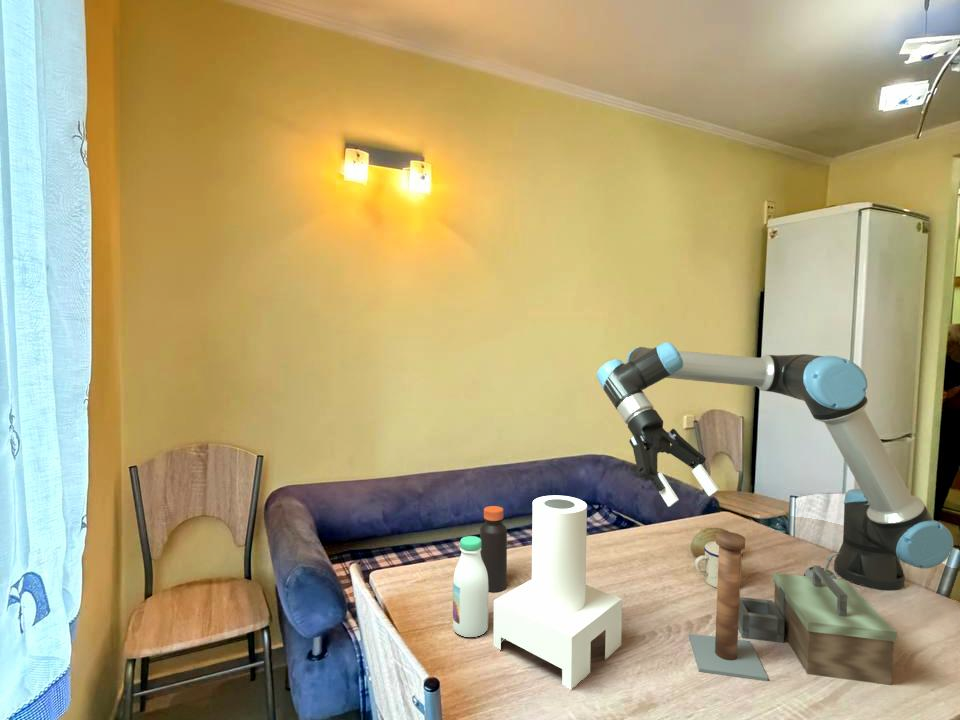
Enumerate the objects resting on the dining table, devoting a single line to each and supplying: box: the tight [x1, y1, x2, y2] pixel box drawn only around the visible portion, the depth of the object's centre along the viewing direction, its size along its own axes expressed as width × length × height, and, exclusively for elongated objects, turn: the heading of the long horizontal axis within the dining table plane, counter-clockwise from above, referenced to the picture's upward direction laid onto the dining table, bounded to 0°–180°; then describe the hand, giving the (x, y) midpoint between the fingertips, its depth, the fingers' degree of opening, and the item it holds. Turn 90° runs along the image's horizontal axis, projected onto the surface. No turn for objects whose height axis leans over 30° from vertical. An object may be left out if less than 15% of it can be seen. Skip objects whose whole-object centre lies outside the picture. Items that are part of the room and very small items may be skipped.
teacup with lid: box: [694, 541, 744, 589], centre depth 136 cm, size 12×9×12 cm
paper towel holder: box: [493, 494, 623, 691], centre depth 108 cm, size 19×19×30 cm
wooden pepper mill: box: [715, 531, 746, 660], centre depth 105 cm, size 5×5×24 cm
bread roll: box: [690, 527, 730, 558], centre depth 153 cm, size 10×15×8 cm, turn 100°
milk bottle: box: [452, 535, 489, 638], centre depth 115 cm, size 8×8×20 cm
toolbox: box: [738, 564, 898, 686], centre depth 109 cm, size 23×21×14 cm
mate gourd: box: [803, 552, 840, 579], centre depth 126 cm, size 8×8×15 cm
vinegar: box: [479, 505, 508, 593], centre depth 134 cm, size 7×7×20 cm
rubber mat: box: [688, 633, 769, 682], centre depth 106 cm, size 12×12×1 cm
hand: (694, 498), depth 112 cm, fingers open, 13 cm apart
